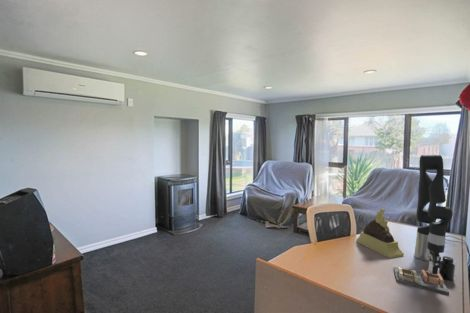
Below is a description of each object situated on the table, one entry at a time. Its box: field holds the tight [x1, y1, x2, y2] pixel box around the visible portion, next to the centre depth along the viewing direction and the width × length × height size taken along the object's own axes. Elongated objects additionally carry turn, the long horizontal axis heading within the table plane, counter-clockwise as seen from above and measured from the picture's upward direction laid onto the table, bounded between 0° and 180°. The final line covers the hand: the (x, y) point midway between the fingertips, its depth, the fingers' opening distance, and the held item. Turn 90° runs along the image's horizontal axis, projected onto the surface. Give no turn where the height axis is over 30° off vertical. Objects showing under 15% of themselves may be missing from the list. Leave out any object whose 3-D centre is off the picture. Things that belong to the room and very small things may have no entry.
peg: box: [427, 261, 437, 278], centre depth 146 cm, size 4×4×10 cm
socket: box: [420, 269, 445, 286], centre depth 146 cm, size 8×8×3 cm
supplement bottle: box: [438, 255, 456, 282], centre depth 152 cm, size 7×7×12 cm
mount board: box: [393, 266, 450, 296], centre depth 147 cm, size 16×23×4 cm
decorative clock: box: [355, 208, 404, 259], centre depth 188 cm, size 28×13×30 cm, turn 22°
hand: (432, 270), depth 146 cm, fingers open, 8 cm apart
